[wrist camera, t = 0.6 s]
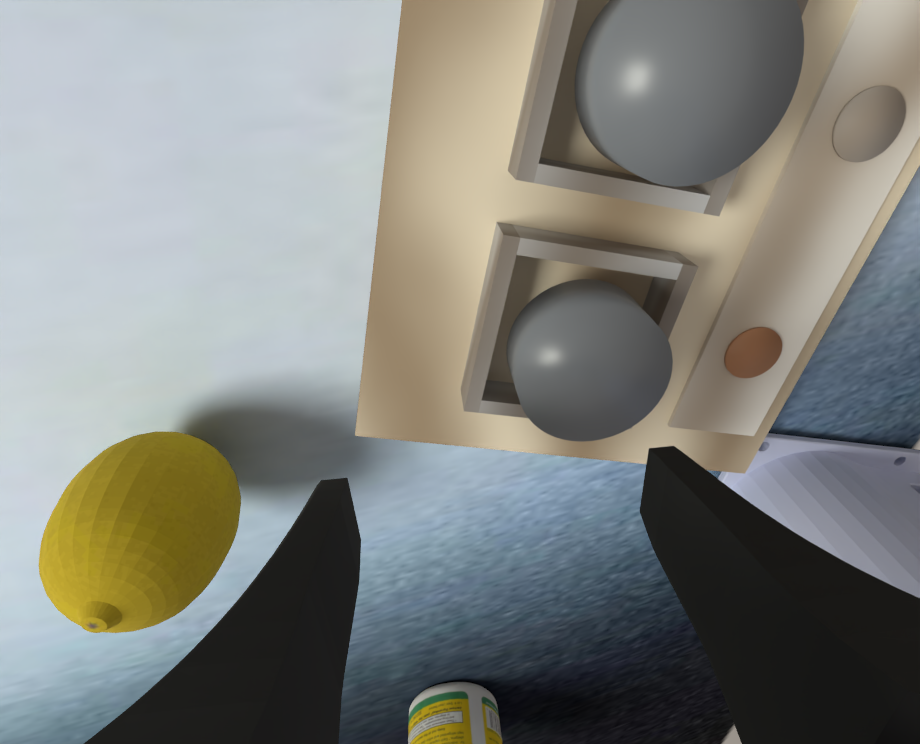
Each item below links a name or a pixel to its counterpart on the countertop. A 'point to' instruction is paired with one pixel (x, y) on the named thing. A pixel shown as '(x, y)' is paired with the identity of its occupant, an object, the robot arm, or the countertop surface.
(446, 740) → the supplement bottle
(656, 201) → the button board
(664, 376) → the button
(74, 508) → the lemon
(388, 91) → the countertop surface
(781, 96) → the button mid
